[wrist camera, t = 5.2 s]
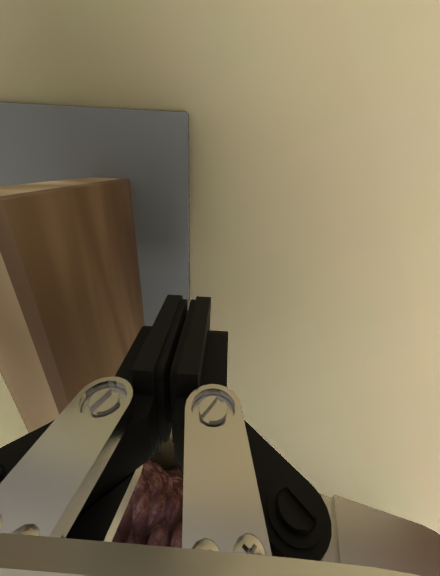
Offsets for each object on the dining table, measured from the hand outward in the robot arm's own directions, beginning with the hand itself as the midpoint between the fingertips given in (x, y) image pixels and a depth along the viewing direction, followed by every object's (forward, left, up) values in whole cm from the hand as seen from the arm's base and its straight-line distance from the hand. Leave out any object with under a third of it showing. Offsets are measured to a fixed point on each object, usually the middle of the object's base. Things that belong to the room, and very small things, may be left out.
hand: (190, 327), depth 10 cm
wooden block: (+5, 0, -6) cm, 8 cm away
